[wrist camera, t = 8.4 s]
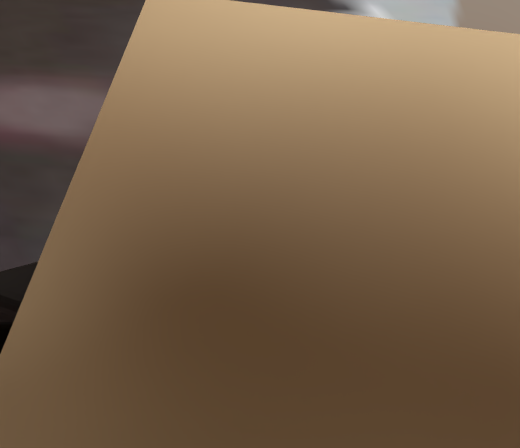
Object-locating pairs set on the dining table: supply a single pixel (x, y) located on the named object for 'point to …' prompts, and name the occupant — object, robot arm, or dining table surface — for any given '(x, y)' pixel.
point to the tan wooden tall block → (283, 242)
